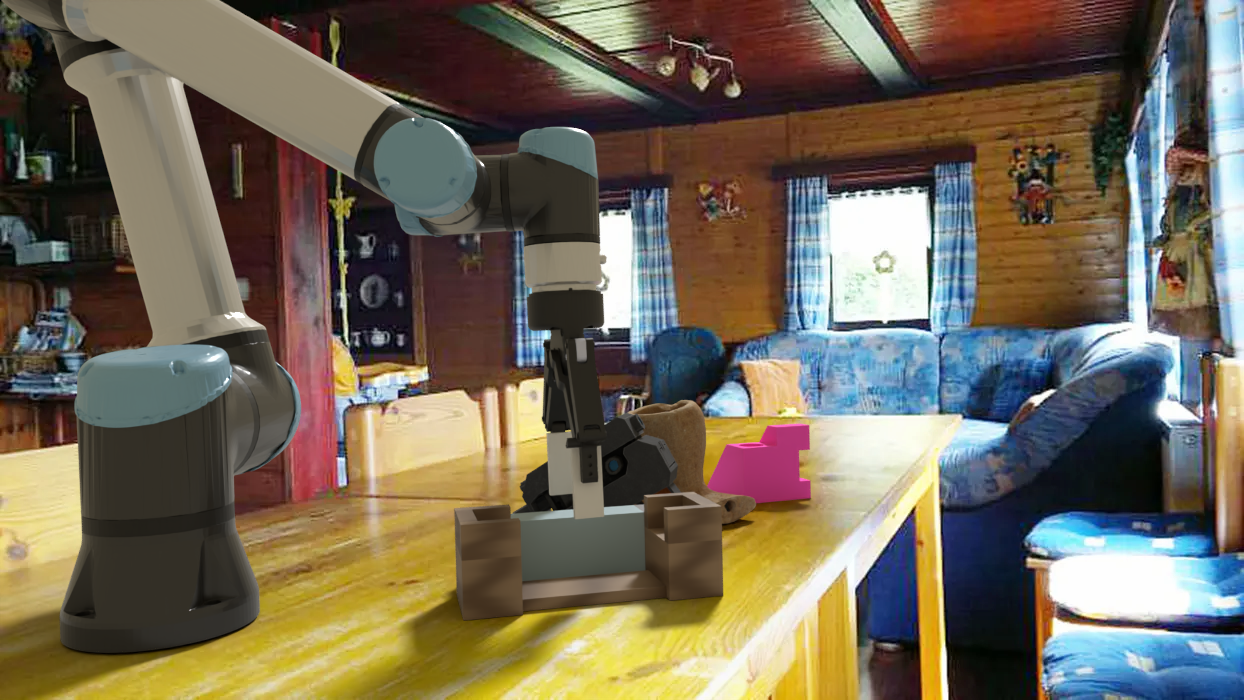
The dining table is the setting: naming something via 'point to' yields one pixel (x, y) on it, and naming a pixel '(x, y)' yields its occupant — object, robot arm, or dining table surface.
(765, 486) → the bracket
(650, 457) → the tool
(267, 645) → the dining table surface
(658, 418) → the brown boot
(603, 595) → the posts
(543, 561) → the rail
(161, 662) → the dining table surface
